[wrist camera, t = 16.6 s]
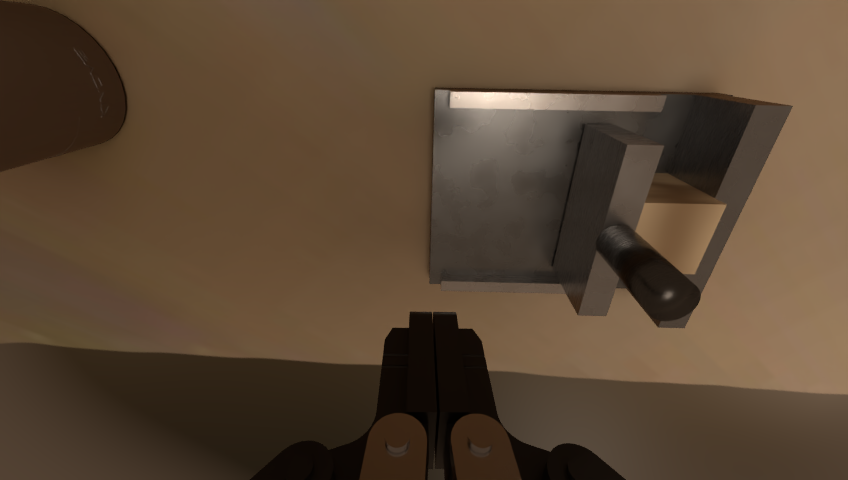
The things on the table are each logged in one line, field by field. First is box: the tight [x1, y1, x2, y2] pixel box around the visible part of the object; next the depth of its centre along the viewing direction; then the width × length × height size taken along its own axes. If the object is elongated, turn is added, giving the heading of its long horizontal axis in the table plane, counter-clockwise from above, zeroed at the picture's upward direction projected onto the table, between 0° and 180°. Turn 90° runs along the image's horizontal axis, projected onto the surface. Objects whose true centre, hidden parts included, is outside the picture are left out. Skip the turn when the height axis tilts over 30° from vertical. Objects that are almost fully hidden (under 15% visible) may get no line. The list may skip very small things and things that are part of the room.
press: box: [430, 88, 793, 328], centre depth 26 cm, size 20×16×6 cm
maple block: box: [635, 173, 727, 274], centre depth 25 cm, size 5×5×6 cm
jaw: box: [552, 124, 701, 321], centre depth 22 cm, size 2×12×12 cm, turn 179°
